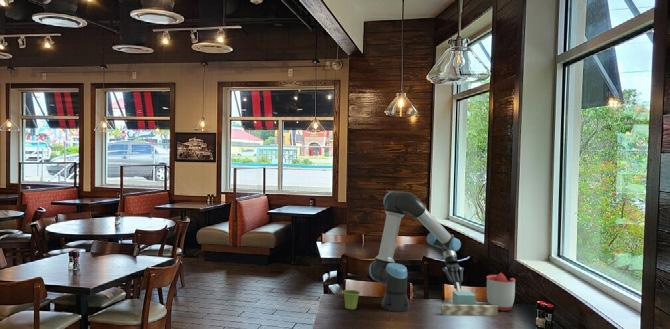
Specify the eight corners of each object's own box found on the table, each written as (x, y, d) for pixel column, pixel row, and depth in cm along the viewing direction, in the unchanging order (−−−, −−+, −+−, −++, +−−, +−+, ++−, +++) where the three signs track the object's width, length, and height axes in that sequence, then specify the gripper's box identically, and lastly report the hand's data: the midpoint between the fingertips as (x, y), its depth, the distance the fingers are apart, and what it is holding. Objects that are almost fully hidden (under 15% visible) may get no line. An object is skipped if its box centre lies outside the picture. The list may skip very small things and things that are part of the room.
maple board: (442, 315, 239) (442, 305, 239) (441, 313, 241) (441, 304, 241) (497, 315, 241) (497, 306, 241) (496, 314, 243) (496, 305, 243)
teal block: (456, 311, 246) (457, 295, 246) (452, 307, 254) (452, 291, 254) (474, 311, 247) (475, 295, 247) (469, 307, 255) (470, 291, 255)
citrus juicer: (521, 308, 255) (522, 273, 255) (505, 314, 244) (506, 277, 244) (496, 301, 267) (497, 268, 267) (480, 306, 256) (481, 271, 256)
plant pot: (352, 304, 252) (353, 289, 253) (362, 309, 244) (363, 293, 245) (339, 306, 247) (339, 291, 247) (348, 311, 239) (349, 295, 240)
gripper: (459, 262, 280) (468, 296, 264) (438, 261, 279) (446, 296, 263) (462, 255, 275) (471, 290, 258) (441, 255, 274) (449, 289, 257)
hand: (459, 293), depth 261 cm, fingers closed
